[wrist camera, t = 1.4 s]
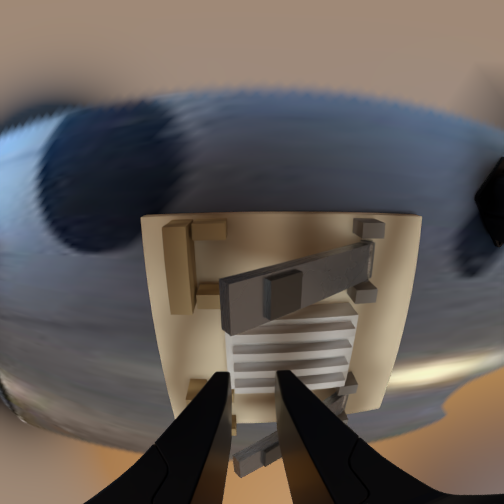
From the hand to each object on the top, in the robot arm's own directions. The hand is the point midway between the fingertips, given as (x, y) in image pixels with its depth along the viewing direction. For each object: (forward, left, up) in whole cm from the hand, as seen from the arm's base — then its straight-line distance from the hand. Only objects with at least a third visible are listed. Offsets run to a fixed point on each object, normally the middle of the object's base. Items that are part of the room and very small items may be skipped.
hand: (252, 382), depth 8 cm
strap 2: (+7, +12, -9) cm, 16 cm away
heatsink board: (+3, +7, -13) cm, 15 cm away
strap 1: (-2, +2, -9) cm, 9 cm away
